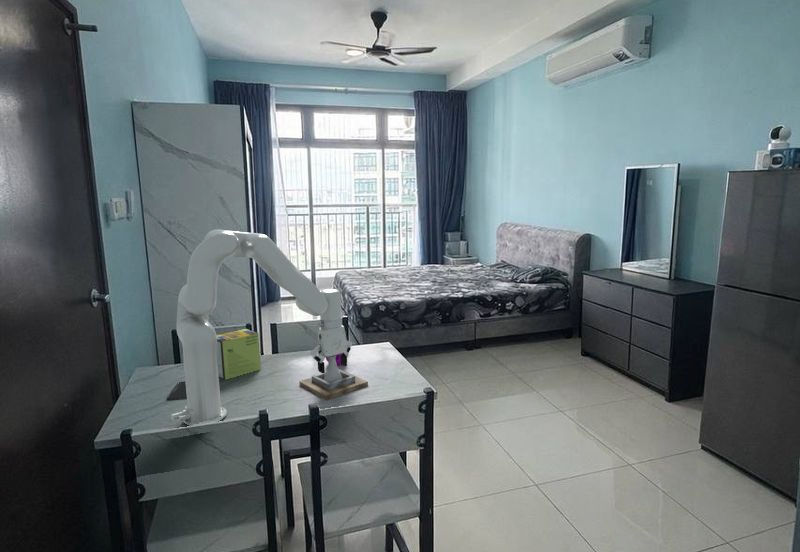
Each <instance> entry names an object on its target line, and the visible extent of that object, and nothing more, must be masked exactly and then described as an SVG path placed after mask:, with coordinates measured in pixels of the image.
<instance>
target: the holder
mask: <svg viewBox="0 0 800 552" xmlns="http://www.w3.org/2000/svg"><path fill="white" fill-rule="evenodd" d="M338 369H339V372H340V374H341V376H342V379H340V380H337V381H334V382H331V383H329V382H327V381H325V380H324V377H325V374H326V371H325V373H321V372H319V373H317V374H313V375H312V376H311V377H309V378H306V379H302V380H299V383H298V384H299V386H300V387H302V388H304V389H305V390H307V391H309V392H312V393H313V394H315V395H317V396H318V397H320V398H322V399H324V400H325V401H328V400H330V399H333V398H335V397H338V396H341V395H344V394H347V393H351V392H353V391H356V390H359V389H362V388H365V387H367V386H369V382H368V380H365V379H363V378H361V377H359V376H356V375H354V374H352V373H350V372H347V371H345V370H343V369H341V368H338Z"/></svg>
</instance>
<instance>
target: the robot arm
mask: <svg viewBox="0 0 800 552" xmlns="http://www.w3.org/2000/svg"><path fill="white" fill-rule="evenodd" d="M233 257H234V258H251V259H252V260H253V261H254V262H255V263H256V264H257V265H258V266H259V268H261V269H262V271H264V272H265V273H266V274H267V276H269V278H270V279H271V280H272V281H273V283H275V284H276V285H278V287H280V288H282V289H283V290H284V291H287V292H288V293H290V294H291V295H292V296H293V297H295V305H296V307H297V308H298V309H299V310H301V311H302V312H304V313H306V314H309V315H310V316H313V317H319V318H320V320H319V322H317V326H318V327H319V329H318V335H317V346H315V347H314V348H313V349H312V350H311V351H310V355H311V356H312V359H313V360H315V361H316V362H317V370H318V372H319V373H325V372H326V370H325V369H326V368H325V362H324V360H326V357H330V356H334V355H338V354H341V353H342V354H341V355H340V359H341V364H340V365H341V366H342V367H348V356H349V353H350V352H351V348H352V346H353V342H352V341H350V340H348V339H347V340H346V338H347V334H346V330H345V326H344V325H342V305H341V304H342V303H341V301H342V299H341V298H342V297H341V292H340V290H339V289H336V288H326V289H321V290H320V289H319V288H318V287H317V286H316V284H315V283H314V282H312V280H310V279H309V277H307V276H306V275H305V274H304V273H303V272H302V271H301V270H300V269H299V268H297V266H295V265H294V263H293V262H292V261H291V260H290V259H289V258H288V256H286V255H285V254H284V252H283V251H282V250H281V249H280V247H278V245H277V244H276V243H275V242H274V241H273V240H272V239H271V238H270V237H269V236H268V235H266V234H263V233H258V232H257V233H256V232H244V231H233V230H228V229H227V230H225V229H213V230H210V231H209V232H207V233H206V235H205V236H204V239H203V241H201V242H200V243H199V244H198V245H197V246H196V248H195V249H194V250H193V252H192V254H191V256H190V259H189V263H188V269H187V277H186V284H185V285H183V287H182V288H180V291H179V293H178V298H177V311H176V325H175V326H176V327H175V328H176V334H177V336H178V338H179V341H180V342H181V344H182V352H183V353H182V354H183V358H182V359H183V370H184V382H185V383H186V394H187V399H186V401H187V403H186V404H187V405H184V409H182V410H181V411H180V412H174V413H172V414H171V415H170V418H171V421H176V420H178V421H179V422H182V421H183V424H184V423H185V424H187V425H193V424H199V422H203V421H207V420H209V421H210V420H213V419H220V418H223V417H225V416H226V417H227V415H228V412H227V409H226V408H225V407H223V406H222V404H221V401H222V400H221V392H220V391H221V389H220V379H219V378H220V377H219V376H218V365H217V335H218V334H217V332H216V330H215V327H214V326H213V325H212V324H211V323H210V322H209V319H210V318H209V316H210V314H211V313H212V312H213V311H214V310H215V308H216V305H217V297H218V296H217V294H218V293H217V292H218V280H219V279H218V278H219V271H220V268H221V266H222V264H223V263H224V262H225V260H227V259H228V258H233ZM317 354H318V355H317ZM226 417H225V418H226ZM185 424H184V425H185ZM187 425H186V426H187Z"/></svg>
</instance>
